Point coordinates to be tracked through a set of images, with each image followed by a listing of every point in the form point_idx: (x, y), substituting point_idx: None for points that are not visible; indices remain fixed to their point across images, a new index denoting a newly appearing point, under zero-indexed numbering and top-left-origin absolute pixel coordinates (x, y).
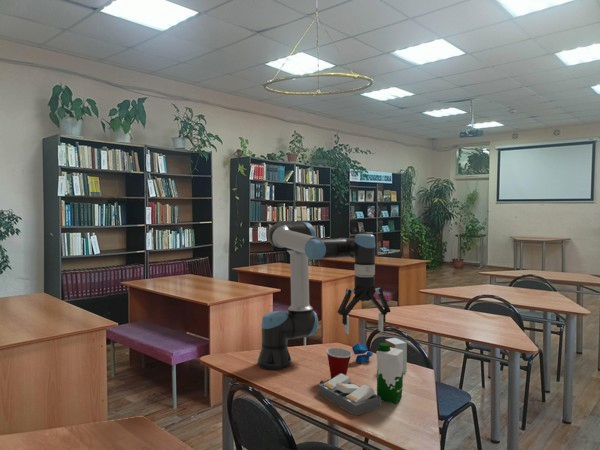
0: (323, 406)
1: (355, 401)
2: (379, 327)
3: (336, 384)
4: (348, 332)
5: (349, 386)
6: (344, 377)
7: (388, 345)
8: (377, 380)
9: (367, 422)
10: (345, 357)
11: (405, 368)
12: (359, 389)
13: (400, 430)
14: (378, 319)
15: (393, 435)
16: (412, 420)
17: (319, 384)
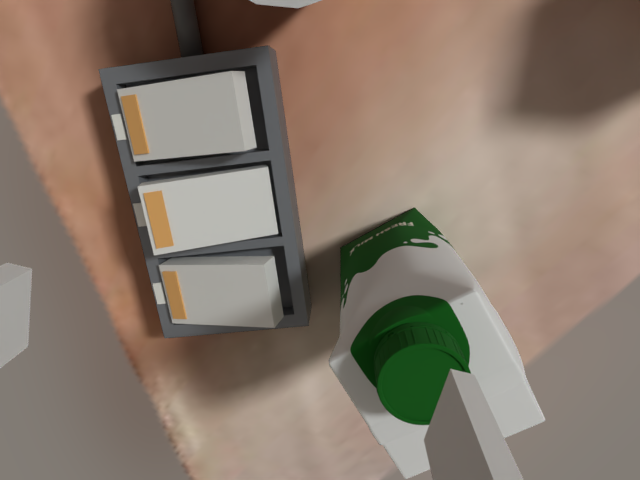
0: (94, 198)
1: (173, 322)
2: (450, 422)
3: (138, 189)
4: (7, 354)
5: (202, 221)
6: (224, 127)
7: (428, 423)
8: (347, 271)
9: (194, 371)
10: (281, 5)
11: None
12: (226, 276)
13: (264, 452)
14: (489, 475)
15: (225, 462)
16: (346, 427)
17: (103, 69)
